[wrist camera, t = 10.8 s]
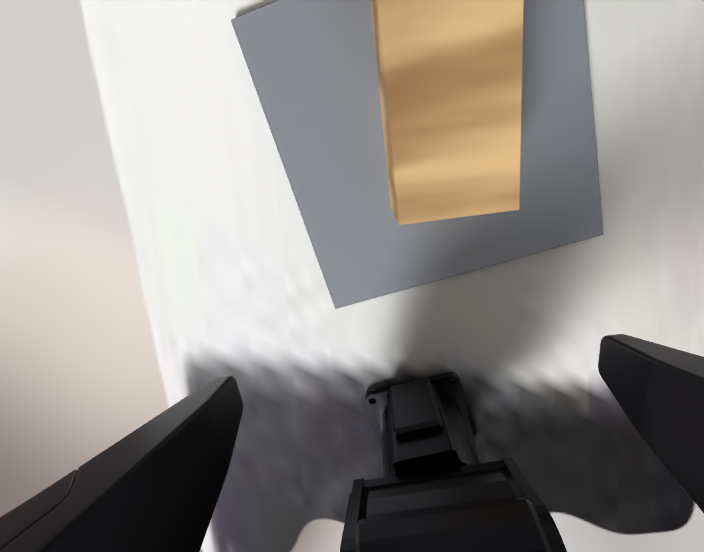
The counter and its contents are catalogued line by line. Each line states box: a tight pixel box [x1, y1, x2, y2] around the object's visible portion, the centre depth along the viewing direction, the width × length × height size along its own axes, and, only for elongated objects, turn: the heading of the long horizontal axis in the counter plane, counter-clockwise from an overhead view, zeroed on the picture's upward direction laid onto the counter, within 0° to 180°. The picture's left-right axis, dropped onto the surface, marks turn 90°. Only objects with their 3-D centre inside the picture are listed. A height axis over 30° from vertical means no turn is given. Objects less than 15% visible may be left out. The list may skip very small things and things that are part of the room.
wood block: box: [370, 0, 524, 225], centre depth 15 cm, size 5×5×13 cm
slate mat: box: [231, 0, 603, 309], centre depth 19 cm, size 16×16×1 cm
